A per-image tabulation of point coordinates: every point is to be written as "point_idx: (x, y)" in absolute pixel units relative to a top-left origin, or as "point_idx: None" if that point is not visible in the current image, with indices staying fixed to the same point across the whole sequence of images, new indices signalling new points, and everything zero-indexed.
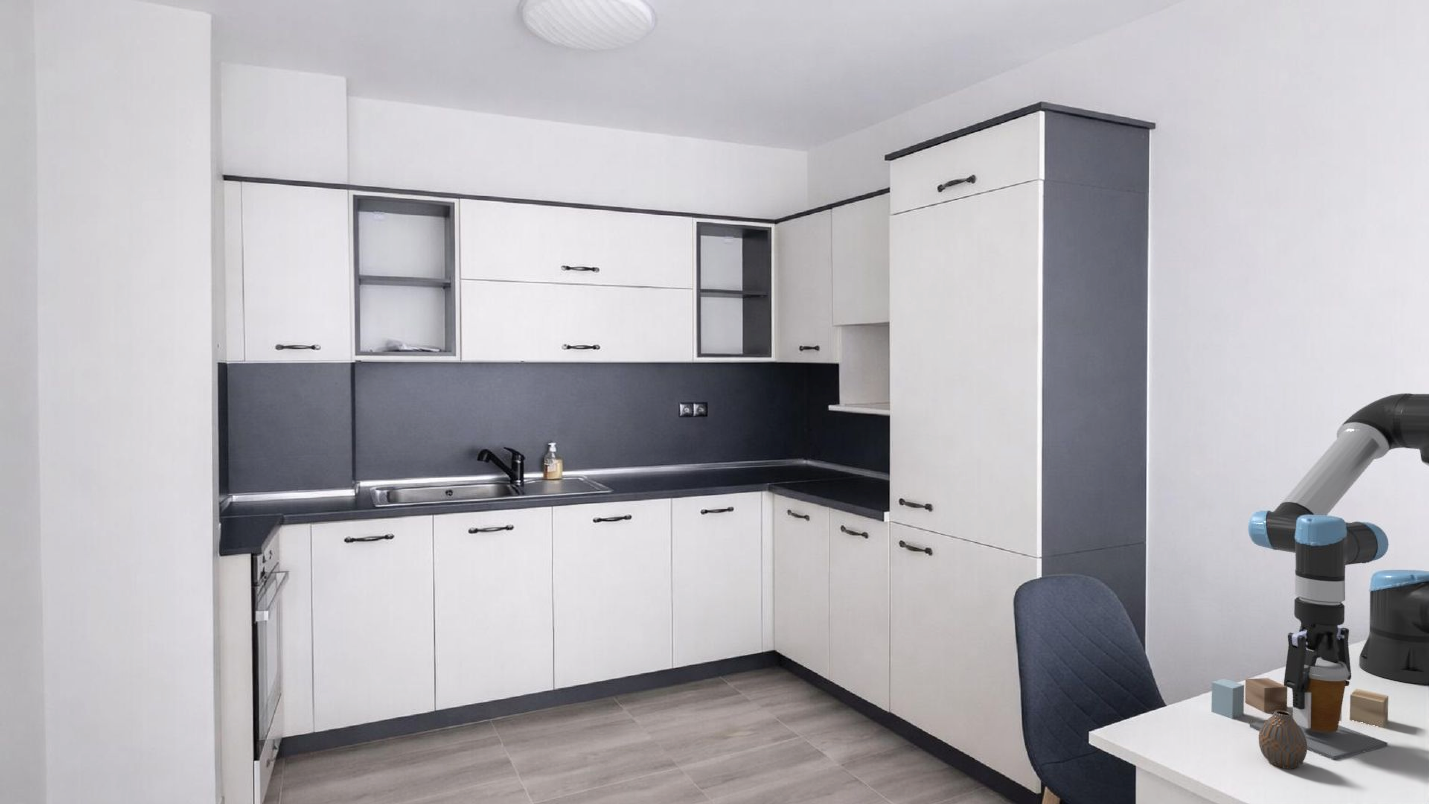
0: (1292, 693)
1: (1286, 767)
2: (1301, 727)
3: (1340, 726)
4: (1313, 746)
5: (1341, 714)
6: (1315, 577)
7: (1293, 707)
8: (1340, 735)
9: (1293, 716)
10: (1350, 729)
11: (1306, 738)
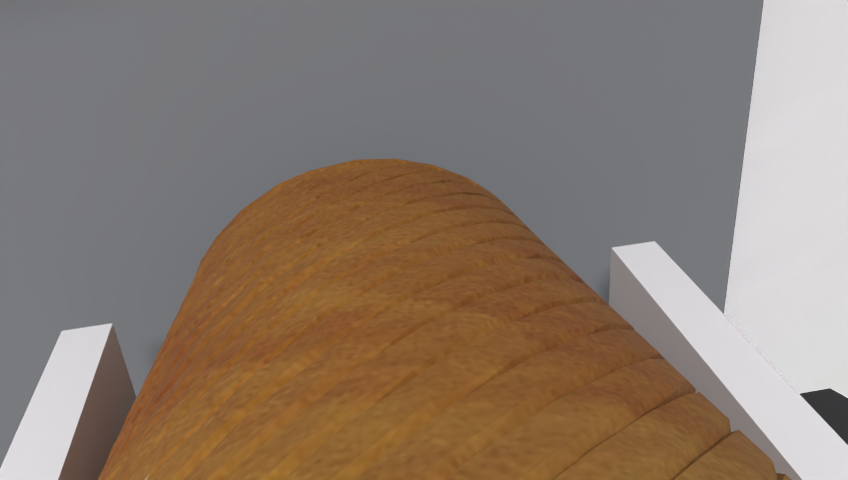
0: (181, 385)
1: None
2: (337, 163)
3: (719, 227)
4: None
5: None
6: None
7: (1, 474)
8: None
9: (39, 390)
10: (722, 293)
11: (141, 369)
